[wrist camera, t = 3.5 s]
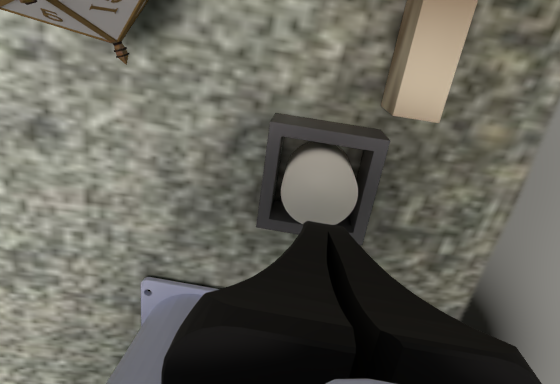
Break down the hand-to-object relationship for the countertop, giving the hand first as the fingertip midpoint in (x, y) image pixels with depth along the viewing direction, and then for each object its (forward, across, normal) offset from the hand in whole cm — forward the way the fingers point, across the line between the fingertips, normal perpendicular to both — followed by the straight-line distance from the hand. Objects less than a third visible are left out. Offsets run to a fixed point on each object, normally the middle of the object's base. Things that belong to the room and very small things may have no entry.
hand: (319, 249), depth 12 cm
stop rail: (+8, -4, -9) cm, 13 cm away
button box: (+8, 0, 0) cm, 8 cm away
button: (+8, 0, 0) cm, 8 cm away
